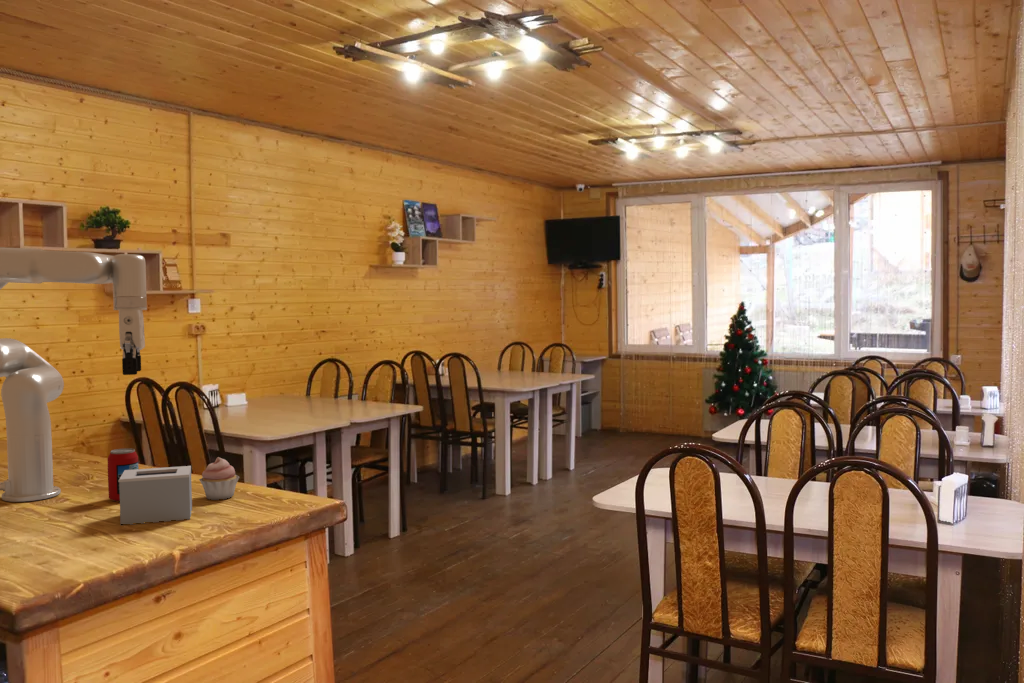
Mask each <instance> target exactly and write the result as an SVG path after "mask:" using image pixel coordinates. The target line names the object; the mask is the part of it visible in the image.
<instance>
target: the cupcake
mask: <svg viewBox="0 0 1024 683" xmlns="http://www.w3.org/2000/svg"><path fill="white" fill-rule="evenodd" d="M235 470H236V469H235V468H234V466H232V465H230V463H229V462H228V460H226V459H225V458H221V457H219V456H218V457H216V459H215V461H214V462H211V463H209V464H208V465H207V466H206V468H205V469H204V470H203V471H202V474H201V478H199V479H198V481H199V482H200V483H201V485H202V488H203V490H204V493H205V494H204V495H205V497H206V499H208V500H210V499H211V501H220V500H219V499H223V500H227V498H228V499H230V497H231V498H233V497H232V496H234V495H235V490H236V487H237V483H238V481H239V479H240V476H239V475H237V474H236V471H235Z"/></svg>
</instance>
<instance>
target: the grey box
mask: <svg viewBox="0 0 1024 683" xmlns="http://www.w3.org/2000/svg"><path fill="white" fill-rule="evenodd" d="M119 490H120V502H119V517H120V518H119V520H120V521H119V522H120V525H121V524H130V525H134V524H133V523H141V524H145V523H144V522H153V523H160V522H159V521H164V522H172V521H171V520H176V521H184V519H187V520H191V518H190V517H192V512H191V511H193V495H192V494H193V491H192V490H193V488H192V465H187V466H186V465H181V466H170V467H166V466H165V467H153V468H138V469H135V470H124V472H123V474H122V476H121V477H120V479H119Z"/></svg>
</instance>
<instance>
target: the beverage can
mask: <svg viewBox="0 0 1024 683" xmlns="http://www.w3.org/2000/svg"><path fill="white" fill-rule="evenodd" d="M135 469H139V456H138V454H137V451H136V450H135V448H131V447H130V448H128V447H127V448H126V447H125V448H116V449H112V450H111V451H110V453H109V455H108V457H107V486H108V487H107V488H108V489H107V490H108V499H110V500H112V501H113V502H116V501H120V490H119V479H120V477H121V476H122V474H123V472H124V470H135Z"/></svg>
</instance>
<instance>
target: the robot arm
mask: <svg viewBox="0 0 1024 683" xmlns="http://www.w3.org/2000/svg"><path fill="white" fill-rule="evenodd" d="M146 265H147V264H146V259H145V257H144V256H143V255H141V254H135V253H133V254H132V253H131V254H129V253H125V254H124V253H120V254H115V255H111V254H103V253H97V252H89V251H68V250H65V251H63V250H47V249H46V250H45V249H41V248H32V247H31V248H28V247H27V248H25V247H4V246H3V247H1V246H0V290H2V289H3V288H4V287H5V286H6V285H7V284H8V283H15V284H39V285H40V284H42V283H70V284H71V283H72V284H85V285H86V284H87V285H88V284H93V285H107V284H112V297H113V298H112V300H113V301H112V302H113V311H118V328H119V329H118V331H119V334H118V335H119V346H120V349H121V350H122V358H121V362H122V364H121V366H122V375H124V376H135V375H138V372H140V371H142V356H141V351H142V350H143V349H145V347H146V341H145V340H146V339H145V319H144V311H148V302H147V301H148V300H147V299H148V298H147V270H146V269H147V266H146ZM2 377H4V378H5V379H4V380H3V383H2V385H1V389H0V390H1V393H0V396H1V401H2V402H1V403H2V405H3V406H2V407H3V410H4V416H5V426H6V428H5V429H6V430H5V432H6V453H7V476H8V477H7V479H6V480H3V481H0V491H3V493H1V500H2V501H5V502H12V503H15V502H16V503H18V502H19V503H20V502H33V501H39V500H45V499H50V498H53V497H56V496H58V495H60V494H61V493H62V492H61V490H62V489H61V488H60V487H59V486H54V469H53V468H54V466H53V441H52V440H53V439H52V438H53V437H52V434H53V433H52V420H51V415H50V414H51V413H50V411H49V407H48V403H50V402H53V401H54V400H56V399H58V398H59V397H61V395H62V393H63V392H64V387H65V382H64V378H63V376H62V374H61V373H60V372H59V371H58V370H57V369H56V368H55V367H54V366H53V365H52V364H51V363H49V362H48V361H47V360H46V359H45V358H43V357H42V356H41V355H40V354H38V353H37V352H36V351H34V349H32V348H31V347H29V346H28V345H27V344H26V343H24V342H22V341H20V340H18V339H15V338H11V337H9V338H7V337H5V338H0V378H2Z"/></svg>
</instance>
